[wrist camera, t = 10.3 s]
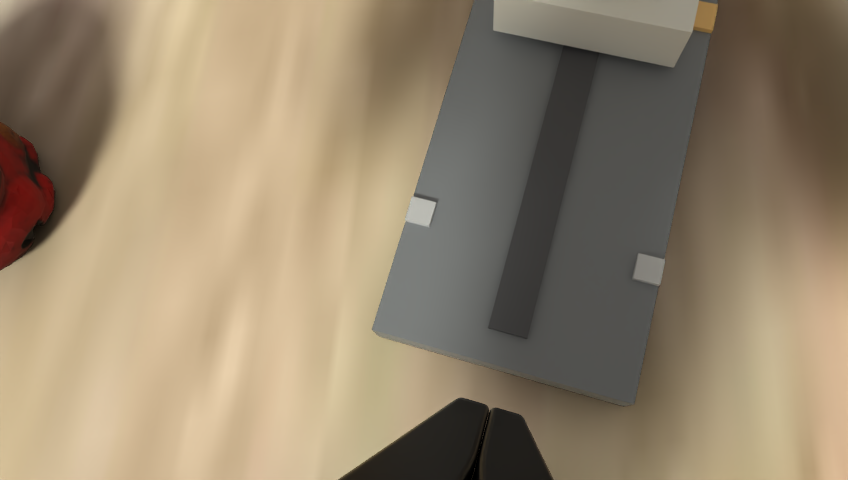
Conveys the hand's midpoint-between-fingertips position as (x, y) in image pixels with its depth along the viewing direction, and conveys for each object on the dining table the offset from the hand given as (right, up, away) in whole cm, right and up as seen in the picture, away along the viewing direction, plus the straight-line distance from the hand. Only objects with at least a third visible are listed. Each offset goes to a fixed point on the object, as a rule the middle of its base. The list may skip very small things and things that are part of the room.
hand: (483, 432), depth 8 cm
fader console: (+4, +7, +15) cm, 17 cm away
